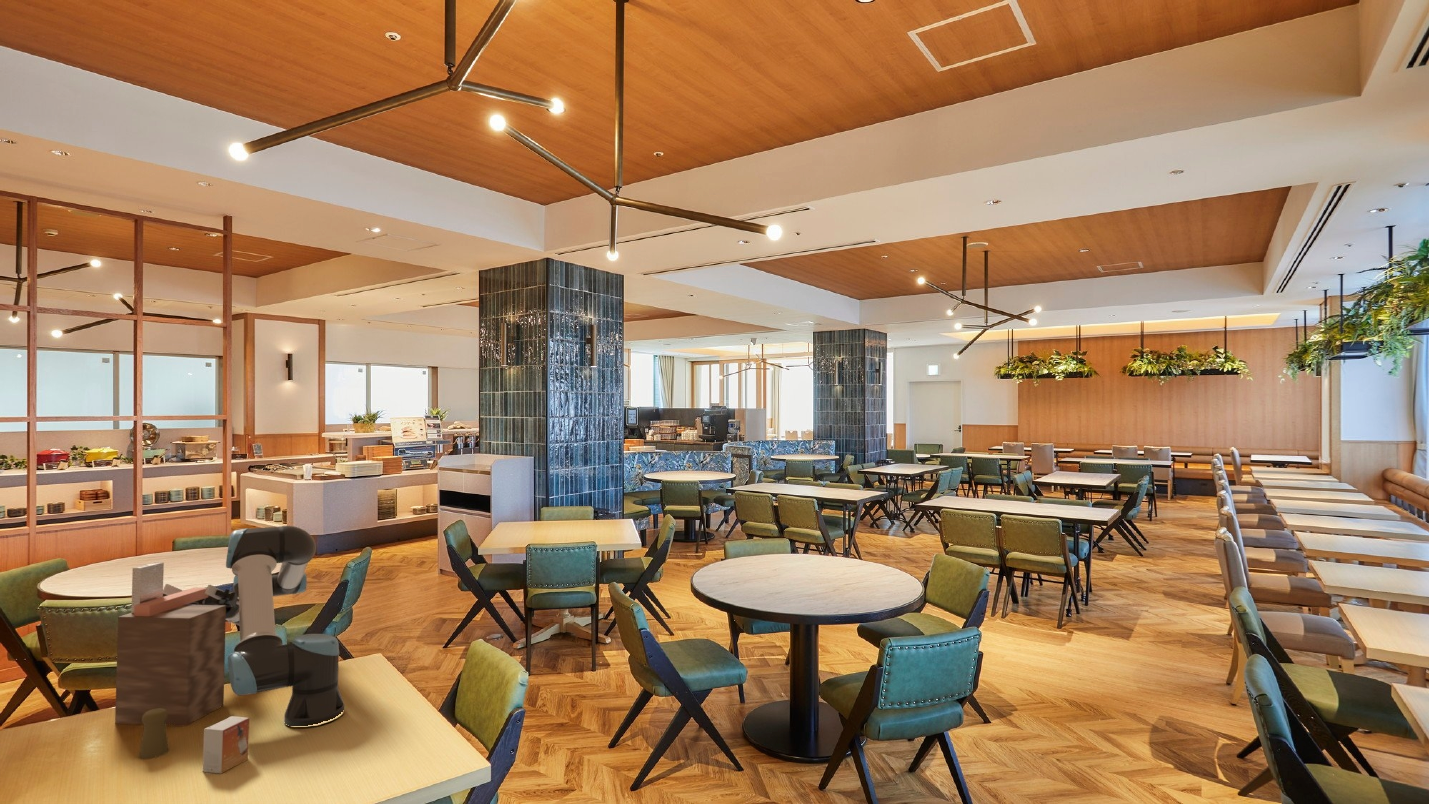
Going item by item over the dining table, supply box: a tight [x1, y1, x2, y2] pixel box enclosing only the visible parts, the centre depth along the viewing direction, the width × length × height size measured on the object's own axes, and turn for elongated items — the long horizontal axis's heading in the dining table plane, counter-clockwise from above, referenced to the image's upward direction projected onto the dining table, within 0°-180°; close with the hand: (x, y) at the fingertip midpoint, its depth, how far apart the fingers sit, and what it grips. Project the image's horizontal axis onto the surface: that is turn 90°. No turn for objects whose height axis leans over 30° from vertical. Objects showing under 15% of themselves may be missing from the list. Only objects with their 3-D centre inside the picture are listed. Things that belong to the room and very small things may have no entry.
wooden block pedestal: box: [114, 604, 227, 727], centre depth 206 cm, size 14×21×30 cm, turn 87°
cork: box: [138, 708, 170, 760], centre depth 182 cm, size 6×6×11 cm
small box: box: [202, 715, 250, 774], centre depth 176 cm, size 8×6×10 cm
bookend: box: [130, 561, 165, 613], centre depth 208 cm, size 8×2×13 cm, turn 177°
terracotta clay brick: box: [134, 586, 208, 616], centre depth 212 cm, size 22×4×3 cm, turn 177°
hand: (186, 588), depth 217 cm, fingers open, 13 cm apart
